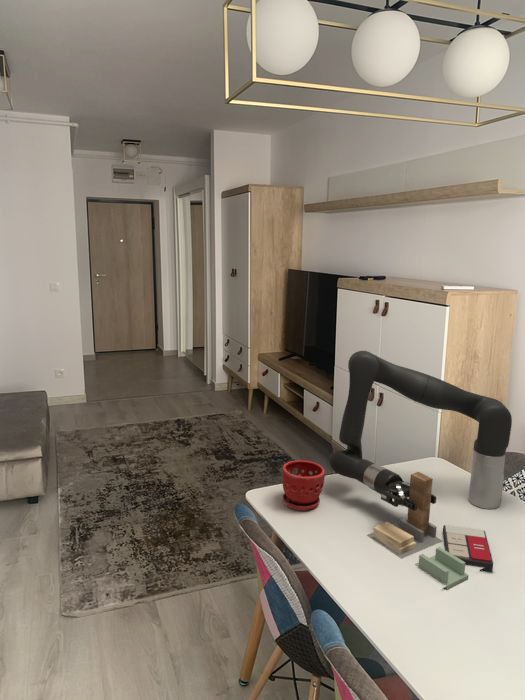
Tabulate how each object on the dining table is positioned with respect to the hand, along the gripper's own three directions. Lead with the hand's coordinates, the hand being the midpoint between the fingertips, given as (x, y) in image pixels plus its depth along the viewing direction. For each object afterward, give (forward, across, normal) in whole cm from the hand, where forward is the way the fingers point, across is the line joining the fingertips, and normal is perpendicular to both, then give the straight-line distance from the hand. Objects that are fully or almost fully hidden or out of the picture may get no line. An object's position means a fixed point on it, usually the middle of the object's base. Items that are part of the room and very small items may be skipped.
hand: (425, 503), depth 147 cm
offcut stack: (-2, -9, +10) cm, 13 cm away
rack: (-2, -5, +11) cm, 12 cm away
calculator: (+10, +5, +12) cm, 16 cm away
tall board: (-2, 0, +10) cm, 10 cm away
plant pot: (-34, -16, +11) cm, 39 cm away
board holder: (+13, -8, +11) cm, 19 cm away
